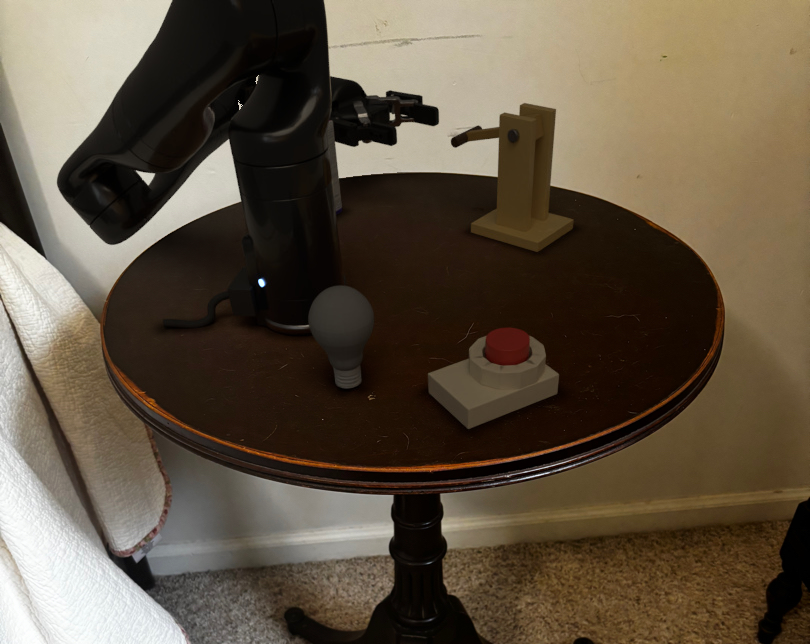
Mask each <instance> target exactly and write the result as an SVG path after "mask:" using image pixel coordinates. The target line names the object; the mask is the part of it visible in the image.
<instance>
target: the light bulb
mask: <svg viewBox="0 0 810 644" xmlns="http://www.w3.org/2000/svg"><path fill="white" fill-rule="evenodd" d="M308 322H309V327H310V330H311V335H312V337H313V339H314V340H315V341H316V342H317V344H318V345H319V346H320V348H322V350H323V351H324V352H325V353H326V356H327V359H328V362H329V363H330V365H331V367H332V368H333V374H334V375H333V376H334V382H335V385H336V386H337V387H339V388H342V389H353V388H356V387H358V386H359V385H361V383H362V380H363V379H362V370H361V364H362V362H363V358H364V349H365V347H366V345H367V343H368V341H369V340H370V338H371V335H372V334H373V330H374V325H375V314H374V310H373V307H372V305H371V303H370V301H369V300H368V299H367V297H366V296H365V295H363V293H361V292H360V291H359V290H357V289H356V288H354V287H352V286H348V285H347V286H346V285H344V286H333V287H330V288H327V289H325V290H324V291H322V292H321V293H320V294H319V295H318V296H317V297H316V299H315V300H314V301H313V303H312V305H311V308H310V311H309V316H308Z"/></svg>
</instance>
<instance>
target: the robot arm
mask: <svg viewBox="0 0 810 644" xmlns="http://www.w3.org/2000/svg"><path fill="white" fill-rule="evenodd" d="M330 67H331V66H330V50H329V33H328V19H327V11H326V4H325V0H171V2H170V4H169V7H168V9H167V12H166V14H165V16H164V18H163V21H162V22H161V25H160V28H159V29H158V31H157V34H156V35H155V37H154V38H153V40H152V42H151V43H150V44H149V45H148V47H147V49H146V50H145V52H144V53H143V55H142V57H141V58H140V59H139V61H138V63H137V64H136V65H135V66H134V68H133V69H132V70H131V71H130V73H129V74H128V75H127V77H125V80H124V81H123V82H122V84H121V86H119V88H118V90H117V92H116V93H115V95H114V97H113V99H112V100H111V102H110V104H109V106H108V108H107V109H106V111H105V112H104V114H103V115H102V117H101V119H100V120H99V122H98V123H97V124H96V126H95V127H94V129H93V130H92V131H91V132H90V133H89V134H88V136H87V137H86V138H85V139H84V140H83V141H82V142H81V143H80V144H79V145H78V146H77V148H76V149H75V150H74V151H73V152H72V153H71V154H70V156H69V157H68V158H67V159H66V160H65V162H64V163H63V165H62V166H61V167H60V170H59V171H58V174H57V177H56V186H57V189H58V192H59V193H60V196H62V198H63V199H64V200H65V201H66V203H67V204H68V205H69V206H70V207H71V209H72V210H74V211H75V213H76V214H77V215H78V216H79V217H80V218H81V219H82V221H83V222H85V224H86V225H87V226H89V228H90V230H91V231H92V232H93V233H94V234H95V235H96V236H97V237H98V238H99V239H100V240H101V241H103V243H104V244H106V245H109V246H115V245H119V244H121V243H123V242H126V241H127V240H129V239H130V238H132V237H133V236H134V235H135V234H137V233H138V232H139V231H141V230H142V229H143V228H144V226H146V225H147V224H148V223H149V222H150V221H151V220H152V219H153V218H154V217H155V216H156V215H157V214H158V213H159V212H160V211H161V210H162V208H163V207H164V206H165V205H166V204H167V203H168V202H169V201H170V200H171V199H172V197H173V196H174V195H175V194H177V192H178V191H179V190H180V189H181V187H182V186H183V185H184V184H185V183H186V182H187V180H188V179H189V178H190V177H191V175H192V174H193V173H194V172H195V171H196V170H197V169H198V167H199V166H200V165H201V164H202V163H203V162H204V161H205V160H206V159H207V158H208V157H209V156H210V155H212V154H213V153H214V152H215V151H217V150H218V149H219V148H220V147H221V146H222V145H224V144H225V143H227V141H228V142H229V147H230V152H231V156H232V161H233V167H234V173H235V177H236V181H237V187H238V192H239V197H240V203H241V208H242V213H243V217H244V219H243V220H244V223H245V229H246V233H245V234H244V235H243V236H242V238H241V248H242V252H243V253H242V254H243V258H244V263H245V266H242V267H241V269H240V270H239V272H238V273H237V274H236V276H235V278H234V279H233V280H232V281H231V283H230V285H229V286H228V287H227V290H225V291H222V292H219V293H217V294H216V295H213V297H212V298H211V299H210V300H209V301H208V303H207V307H206V310H207V312H206V316H204V317H202V318H200V319H196V320H184V319H176V318H175V319H174V318H163V319H162V324H163V325H162V326H163V327H164V328H180V329H200V328H204V327H207V326H208V325H210V324H211V323H212V322H213V321H214V320H215V319H216V310H217V309H216V307H217V306H218V305H219V304H221V303H222V302H223V301H226V300H229V302H230V307H231V311H232V315H233V316H240V317H255V318H256V323H257V326H264V327H267V328H269V329H271V330H273V331H274V332H277V333H280V334H285V335H286V334H287V335H294V336H295V335H296V336H297V335H298V336H299V335H300V336H301V335H310V334H311V335H312V333H311V330H310V327H309V322H308V316H309V311H310V308H311V305H312V303H313V301H314V300H315V299H316V297H317V296H318V295H319V294H320V293H321V292H322V291H324V290H325V289H327V288H330V287H333V286H348V284H347V276H346V275H345V274H344V272H343V271H344V270H343V263H342V254H341V253H342V252H341V245H340V236H339V235H340V234H339V227H338V219H337V215H336V207H335V198H334V189H333V180H332V172H331V163H330V154H329V145H328V136H327V128H328V124H329V120H331V121H333V127H334V137H335V143H338V144H342V145H345V146H348V147H352V148H356V147H358V146H359V145H360V142H362V143H363V144H371V143H372V142H373V143H377V144H381V145H384V146H388V147H393V146H395V145H397V144H398V131H397V128H399V127H400V126H401V125H402V123H405V124H406V123H416V124H419V125H423V126H424V125H425V126H429V127H436V126H438V125H439V124H440V111H439V108H438V106H434V105H428V104H424V99H423V95H420V94H415V93H414V94H413V93H408V92H401V91H396V90H391V89H390V90H387V91H385V96H379V95H378V94H371V95H368V94H367V93H366V92H365V90H364V88H363V87H362V86H361V84H359V82H357V81H354V80H352V79H348V78H342V77H337V76H332V75H331V70H330V69H331V68H330ZM258 75H259V76H258ZM257 76H258V81H257V84H256V82H255V81H256V77H257ZM238 100H239V101H240V102H239V101H238ZM238 102H239V103H240V104H242V105H243V106H242V105H241V106H242V107H241V109H240V110H239V105H238ZM391 115H394V118H393V119H391ZM138 172H140V173H144V174H145V173H146V174H154V176H153V178H152V179H151V181H150V182H149V184H147V182H146V181H145V180H144V179H143V177H142V176H141V175H140V174H139V173H138Z"/></svg>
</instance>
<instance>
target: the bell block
mask: <svg viewBox="0 0 810 644" xmlns="http://www.w3.org/2000/svg"><path fill="white" fill-rule="evenodd" d="M486 336H487V335H484V336H481V337H479V338H477V339H476V340H475V342H474V343H473V344H471V346H470V347H469V348H468V358H466V359H464V360H461V361H458V362H455V363H453V364H449V365H447V366H445V367H441V368H439V369H436V370H433V371H430V372H428V373H427V386H428V387H427V389H428V394H429V395H430V396H431V397H433V398H434V399H435V400H436V402H438V403H439V404H440V405H441V406H442V407H443V408H445V409H446V410H447V411H448V412H449V414H451V415H452V416H453V417H455V419H456V420H457V421H459V422H460V424H462V425H463V426H464V427H465V428H466V429H467V430H470V429H472V428H473V429H474V428H475V427H478V426H480V425H482V424H485V423H488V422H490V421H493V420H495V419H498V418H500V417H503V416H505V415H508V414H510V413H512V412H516V411H518V410H521V409H523V408H526V407H527V406H530V405H533V404H536V403H539V402H540V401H543V400H546V399H548V398H550V397H554V396H555V395H557V394H558V391H559V381H560V374H559V373H558V372H557V371H555V370H554V369H553V368H551V367H550V366H549V365H547V364H546V361H547V354H546V350H545V346H544V344H543V343H541V342H540V341H539V340H537V339H536V338H535V337H533V336H531V335H529V337H530V347H529V357H528V359H527V361H526V362H523V363H520V364H518V365H506V366H501V365H497V364H494V363H490V362H489V361H488V360H487V359H486V357H485V343H486Z"/></svg>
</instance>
